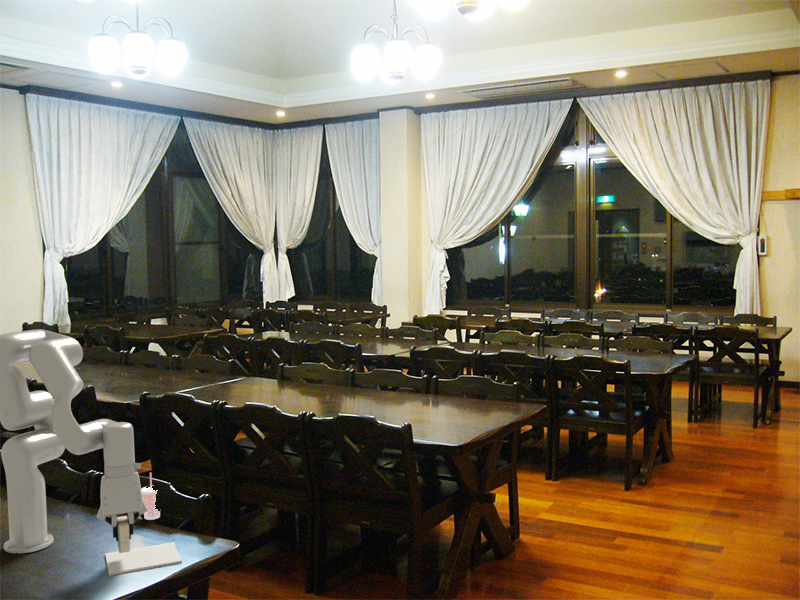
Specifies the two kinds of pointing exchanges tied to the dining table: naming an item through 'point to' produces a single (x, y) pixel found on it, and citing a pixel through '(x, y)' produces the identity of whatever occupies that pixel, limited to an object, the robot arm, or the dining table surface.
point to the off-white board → (142, 558)
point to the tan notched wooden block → (123, 534)
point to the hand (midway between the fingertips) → (123, 538)
